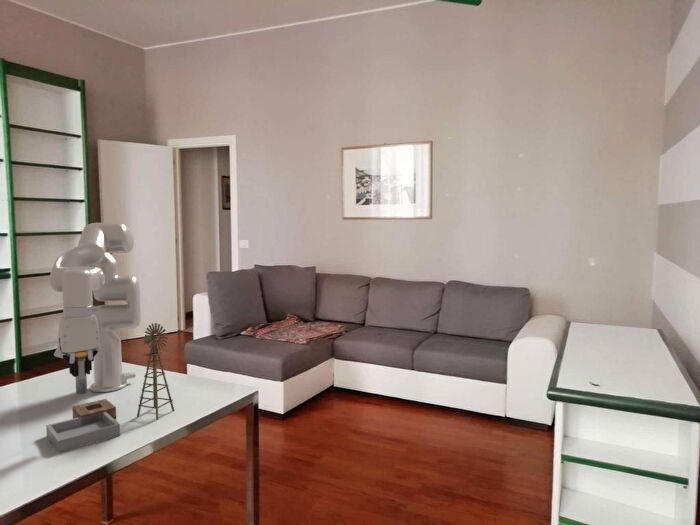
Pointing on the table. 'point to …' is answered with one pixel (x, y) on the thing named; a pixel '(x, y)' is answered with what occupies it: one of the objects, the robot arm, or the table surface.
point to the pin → (81, 372)
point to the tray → (81, 431)
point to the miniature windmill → (154, 368)
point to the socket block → (94, 410)
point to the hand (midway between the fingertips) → (80, 373)
